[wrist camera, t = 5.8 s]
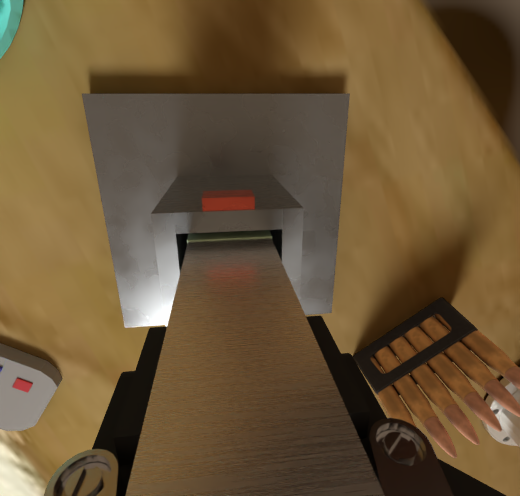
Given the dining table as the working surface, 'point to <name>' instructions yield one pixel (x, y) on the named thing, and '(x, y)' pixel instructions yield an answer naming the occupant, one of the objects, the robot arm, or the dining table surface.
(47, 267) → the dining table surface
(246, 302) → the column
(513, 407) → the ammunition clip
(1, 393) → the remote control
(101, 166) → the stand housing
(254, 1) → the dining table surface
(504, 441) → the robot arm
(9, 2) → the decorative dice
